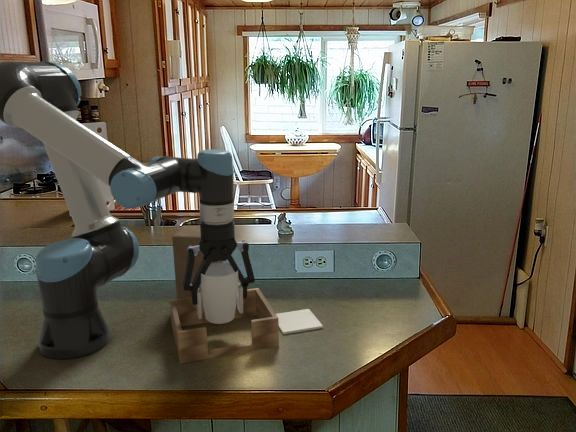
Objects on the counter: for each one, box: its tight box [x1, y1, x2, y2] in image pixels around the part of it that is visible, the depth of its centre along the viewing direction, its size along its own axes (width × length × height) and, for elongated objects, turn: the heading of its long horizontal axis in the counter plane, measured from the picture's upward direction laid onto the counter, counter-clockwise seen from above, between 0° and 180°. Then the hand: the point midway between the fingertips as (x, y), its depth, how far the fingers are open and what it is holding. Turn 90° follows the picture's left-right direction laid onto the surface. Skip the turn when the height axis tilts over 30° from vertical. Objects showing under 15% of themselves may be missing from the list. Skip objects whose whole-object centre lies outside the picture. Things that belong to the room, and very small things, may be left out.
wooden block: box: [171, 225, 224, 299], centre depth 139 cm, size 10×10×20 cm
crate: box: [169, 287, 280, 364], centre depth 122 cm, size 22×18×7 cm
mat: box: [275, 308, 324, 335], centre depth 129 cm, size 10×10×1 cm
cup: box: [200, 262, 240, 325], centre depth 120 cm, size 9×9×12 cm
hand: (220, 313), depth 122 cm, fingers closed on cup, 9 cm apart
